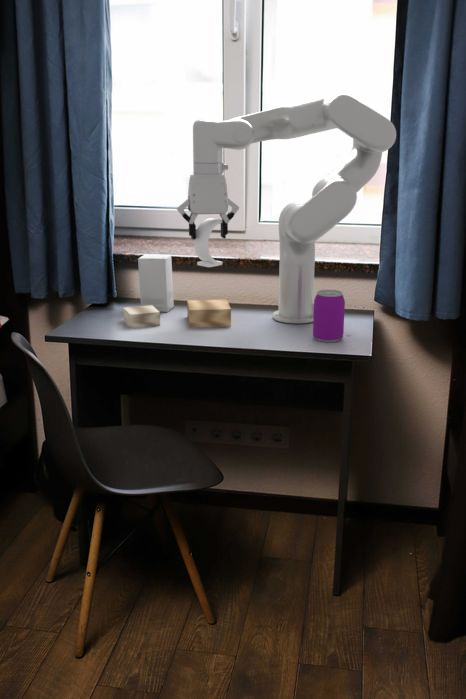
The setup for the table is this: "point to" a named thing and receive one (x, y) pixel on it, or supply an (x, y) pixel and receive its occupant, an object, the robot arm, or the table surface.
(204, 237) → the white crescent piece
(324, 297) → the beverage can
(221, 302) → the oak block
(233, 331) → the table surface
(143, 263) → the skincare box
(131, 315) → the birch block
